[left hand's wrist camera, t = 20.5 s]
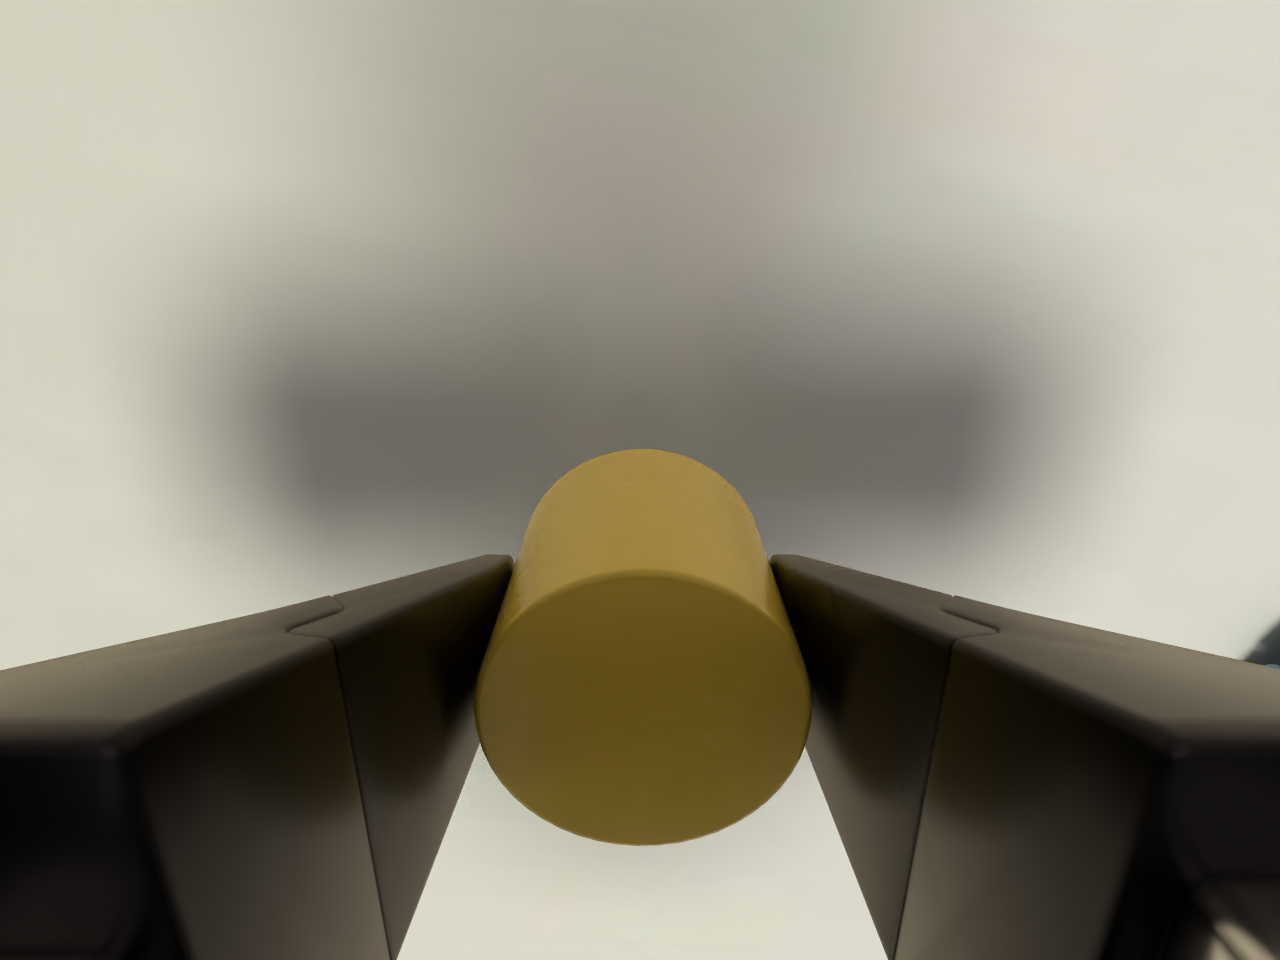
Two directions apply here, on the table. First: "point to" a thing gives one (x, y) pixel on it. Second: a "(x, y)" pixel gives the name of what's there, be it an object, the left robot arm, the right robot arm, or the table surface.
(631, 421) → the table surface
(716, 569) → the tin
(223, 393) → the table surface
